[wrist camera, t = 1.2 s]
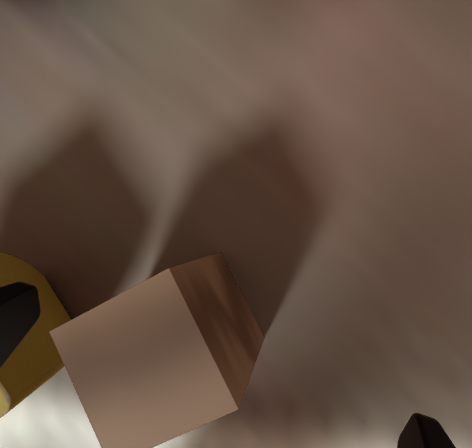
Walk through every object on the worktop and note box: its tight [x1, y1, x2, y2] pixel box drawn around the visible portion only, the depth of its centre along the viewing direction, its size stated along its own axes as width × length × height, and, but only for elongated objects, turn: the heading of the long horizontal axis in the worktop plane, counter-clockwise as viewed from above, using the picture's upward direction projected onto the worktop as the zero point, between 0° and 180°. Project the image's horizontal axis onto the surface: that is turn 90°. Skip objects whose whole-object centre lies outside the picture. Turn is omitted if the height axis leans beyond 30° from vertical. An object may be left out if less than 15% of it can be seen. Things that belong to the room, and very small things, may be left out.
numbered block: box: [50, 252, 264, 448], centre depth 19 cm, size 6×6×9 cm
